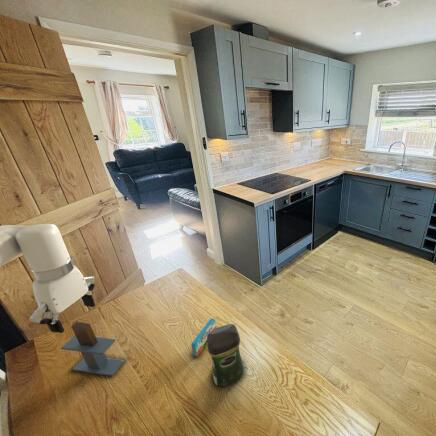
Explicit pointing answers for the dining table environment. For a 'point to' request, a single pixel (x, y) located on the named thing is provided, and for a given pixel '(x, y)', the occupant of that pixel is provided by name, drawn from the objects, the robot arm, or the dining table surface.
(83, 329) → the domino
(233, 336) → the coffee jar
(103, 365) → the pedestal
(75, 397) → the dining table surface
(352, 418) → the dining table surface
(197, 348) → the turquoise printed box
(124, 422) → the dining table surface
